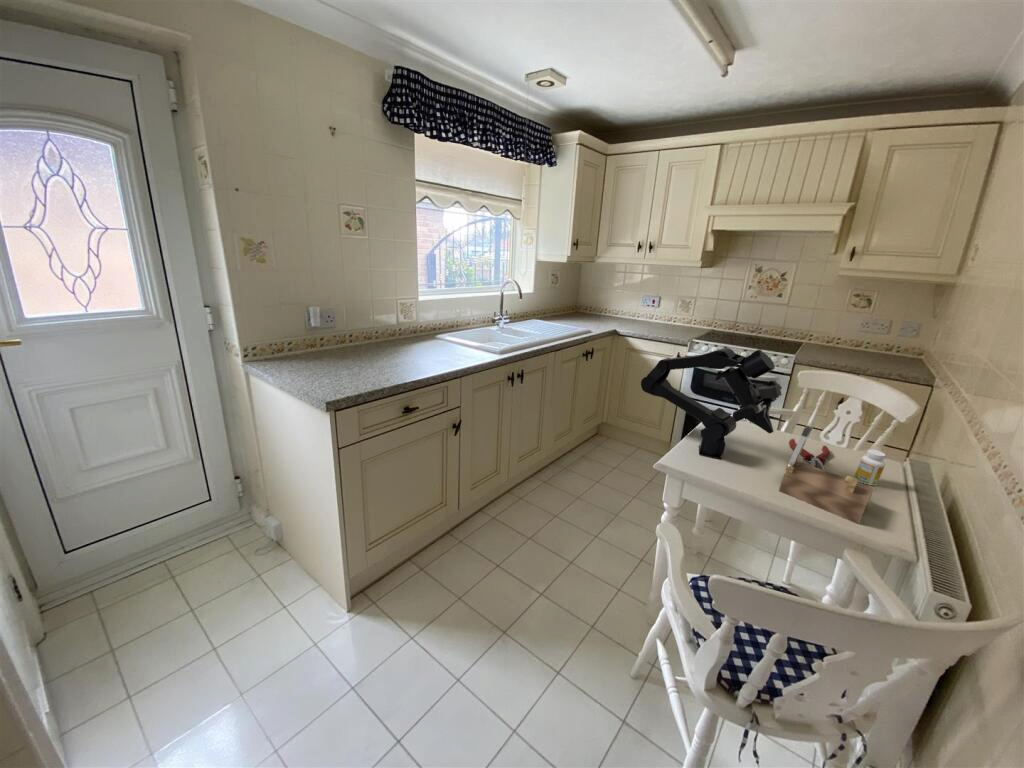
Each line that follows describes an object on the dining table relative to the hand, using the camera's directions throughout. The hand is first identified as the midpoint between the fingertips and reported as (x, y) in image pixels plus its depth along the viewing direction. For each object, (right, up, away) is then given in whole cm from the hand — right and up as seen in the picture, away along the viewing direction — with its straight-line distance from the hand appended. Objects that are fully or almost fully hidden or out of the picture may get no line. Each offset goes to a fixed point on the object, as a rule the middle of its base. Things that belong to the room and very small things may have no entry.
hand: (771, 432), depth 121 cm
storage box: (+10, -17, -6) cm, 21 cm away
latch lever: (+5, -4, -5) cm, 8 cm away
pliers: (+22, -10, +17) cm, 29 cm away
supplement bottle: (+30, -15, +4) cm, 34 cm away
